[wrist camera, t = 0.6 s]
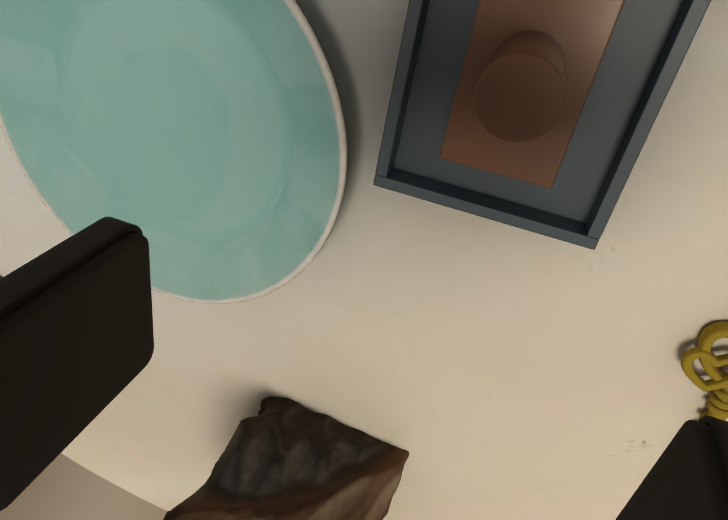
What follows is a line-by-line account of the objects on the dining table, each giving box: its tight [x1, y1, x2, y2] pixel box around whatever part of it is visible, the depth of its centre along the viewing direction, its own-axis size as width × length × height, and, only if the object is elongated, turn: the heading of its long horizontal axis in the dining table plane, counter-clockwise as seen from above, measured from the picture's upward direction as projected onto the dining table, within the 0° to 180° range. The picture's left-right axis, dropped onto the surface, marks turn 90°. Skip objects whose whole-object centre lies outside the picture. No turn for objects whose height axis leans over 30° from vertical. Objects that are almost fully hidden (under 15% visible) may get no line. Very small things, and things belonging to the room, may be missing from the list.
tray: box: [374, 0, 711, 250], centre depth 24 cm, size 15×11×2 cm
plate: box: [0, 0, 347, 304], centre depth 31 cm, size 22×22×3 cm
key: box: [681, 322, 728, 421], centre depth 30 cm, size 12×1×5 cm
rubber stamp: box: [439, 0, 625, 189], centre depth 21 cm, size 9×5×8 cm, turn 170°
